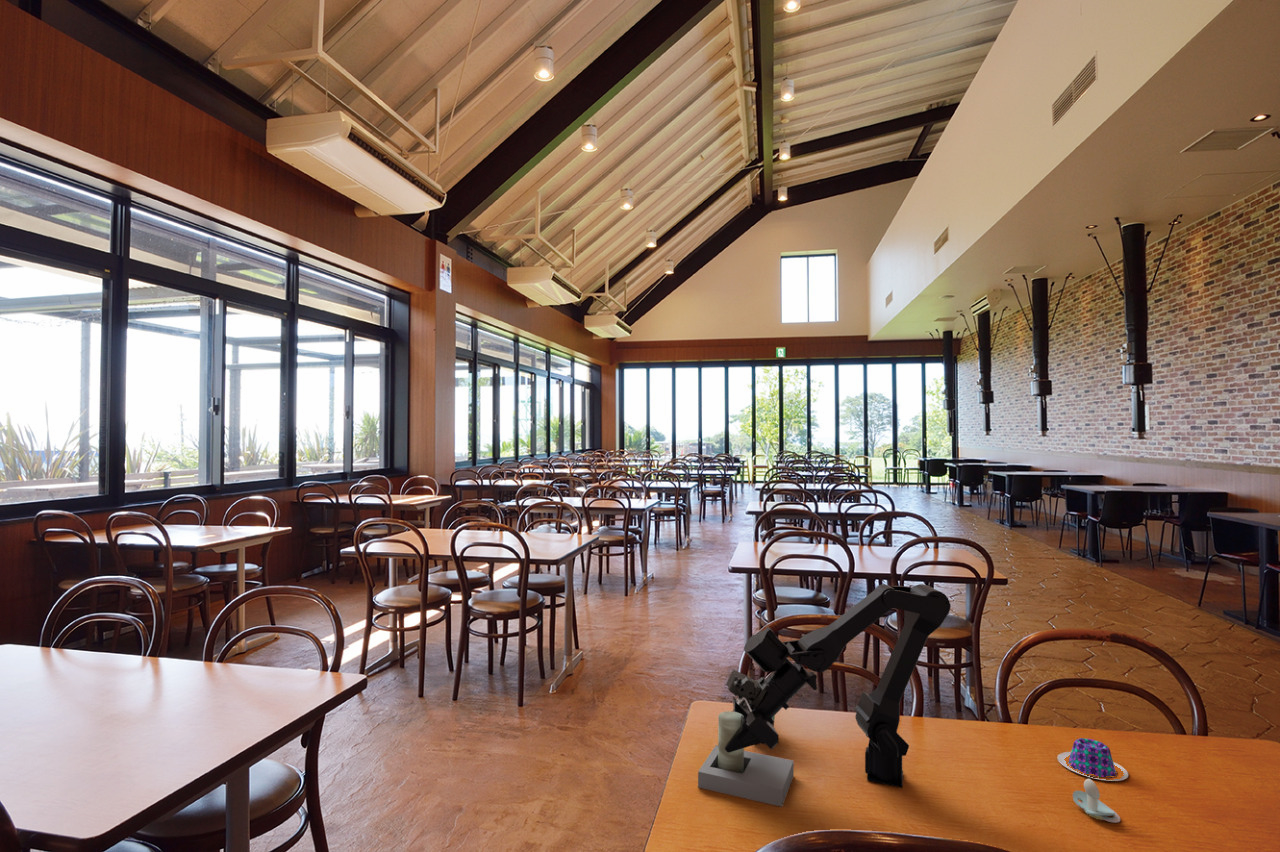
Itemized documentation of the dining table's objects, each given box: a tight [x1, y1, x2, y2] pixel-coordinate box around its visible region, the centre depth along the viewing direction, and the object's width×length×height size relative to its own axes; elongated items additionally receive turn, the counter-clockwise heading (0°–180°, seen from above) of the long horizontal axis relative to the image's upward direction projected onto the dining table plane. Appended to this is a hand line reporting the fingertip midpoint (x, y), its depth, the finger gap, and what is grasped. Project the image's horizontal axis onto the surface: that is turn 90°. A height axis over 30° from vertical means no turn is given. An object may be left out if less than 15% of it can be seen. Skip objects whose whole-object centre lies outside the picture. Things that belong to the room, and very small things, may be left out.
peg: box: [717, 710, 745, 774], centre depth 128 cm, size 5×5×12 cm
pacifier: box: [1072, 778, 1121, 824], centre depth 117 cm, size 7×6×6 cm
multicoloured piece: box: [1057, 737, 1129, 782], centre depth 134 cm, size 12×12×5 cm
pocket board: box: [697, 744, 795, 808], centre depth 126 cm, size 16×12×3 cm
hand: (723, 744), depth 128 cm, fingers closed on peg, 5 cm apart
